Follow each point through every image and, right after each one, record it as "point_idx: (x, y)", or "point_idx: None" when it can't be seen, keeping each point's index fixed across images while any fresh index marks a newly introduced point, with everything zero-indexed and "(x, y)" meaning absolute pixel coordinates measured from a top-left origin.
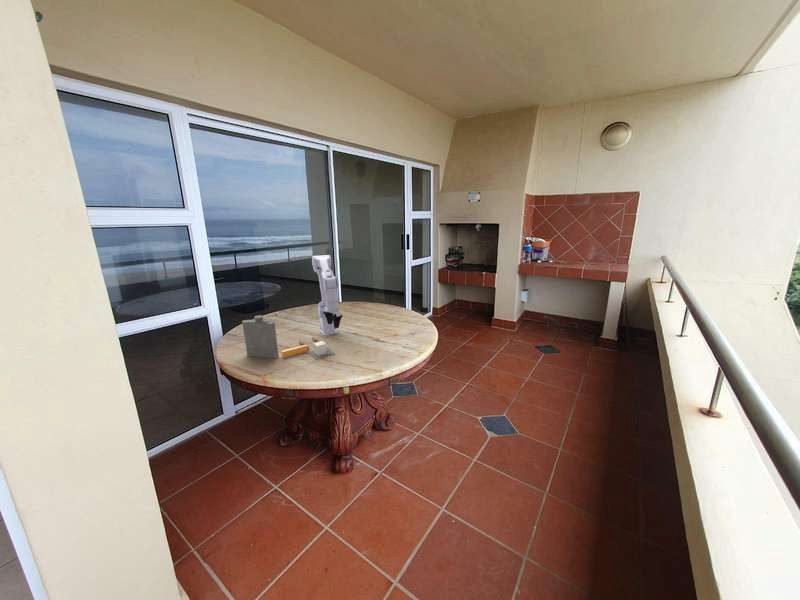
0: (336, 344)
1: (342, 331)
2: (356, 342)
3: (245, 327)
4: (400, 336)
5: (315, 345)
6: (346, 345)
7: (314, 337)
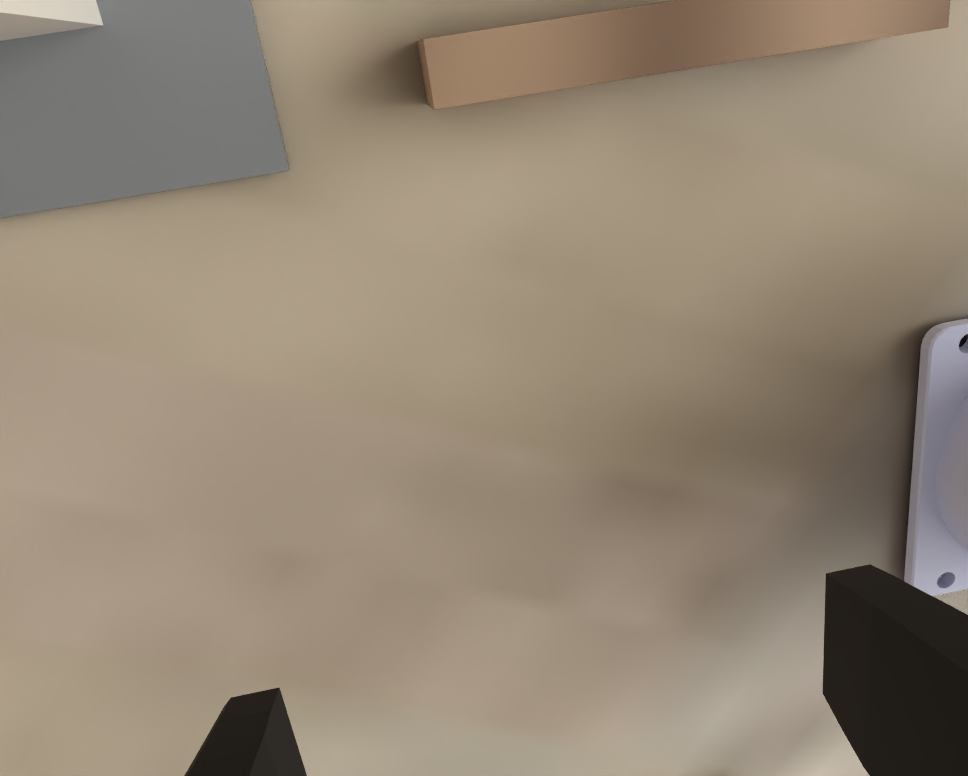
0: (361, 419)
1: None
2: None
3: None
4: None
5: None
6: (216, 579)
7: (898, 14)
